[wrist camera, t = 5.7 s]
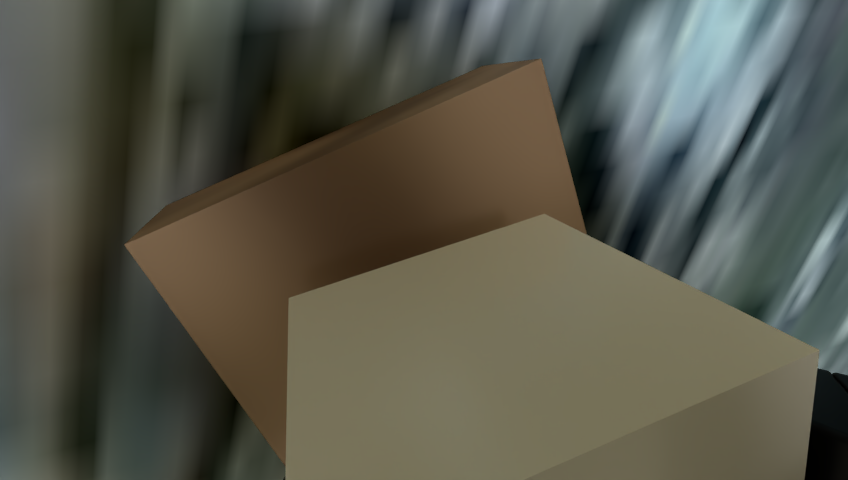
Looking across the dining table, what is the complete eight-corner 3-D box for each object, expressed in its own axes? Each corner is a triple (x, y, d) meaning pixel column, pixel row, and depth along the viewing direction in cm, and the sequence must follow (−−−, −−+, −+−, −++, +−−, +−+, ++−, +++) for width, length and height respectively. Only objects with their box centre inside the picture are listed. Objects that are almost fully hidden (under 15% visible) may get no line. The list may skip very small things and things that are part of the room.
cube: (544, 213, 9) (818, 350, 4) (571, 411, 11) (784, 656, 6) (288, 297, 8) (284, 585, 3) (366, 497, 10) (432, 858, 5)
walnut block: (478, 66, 13) (541, 58, 10) (557, 317, 16) (623, 374, 13) (169, 202, 12) (123, 244, 8) (325, 440, 15) (334, 533, 12)
